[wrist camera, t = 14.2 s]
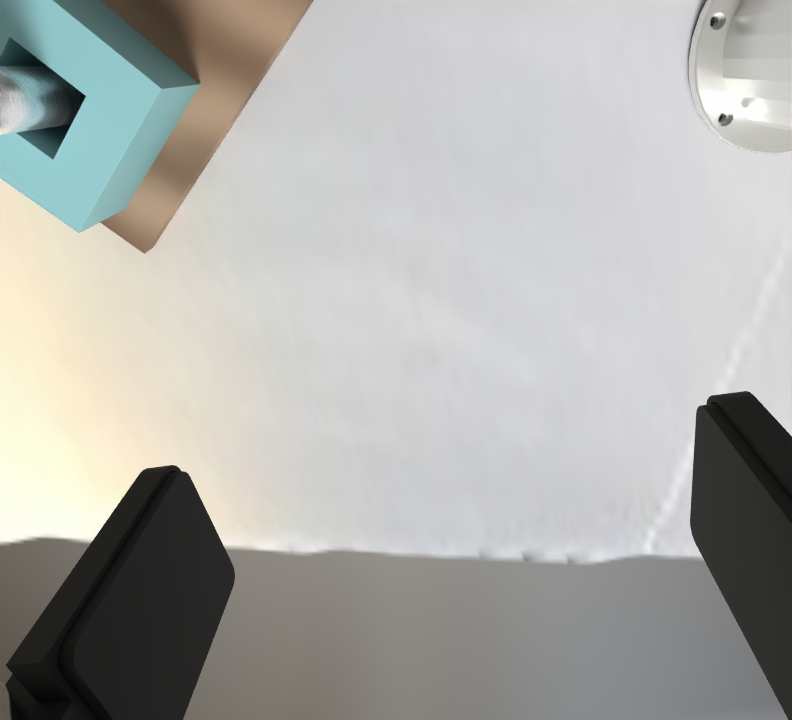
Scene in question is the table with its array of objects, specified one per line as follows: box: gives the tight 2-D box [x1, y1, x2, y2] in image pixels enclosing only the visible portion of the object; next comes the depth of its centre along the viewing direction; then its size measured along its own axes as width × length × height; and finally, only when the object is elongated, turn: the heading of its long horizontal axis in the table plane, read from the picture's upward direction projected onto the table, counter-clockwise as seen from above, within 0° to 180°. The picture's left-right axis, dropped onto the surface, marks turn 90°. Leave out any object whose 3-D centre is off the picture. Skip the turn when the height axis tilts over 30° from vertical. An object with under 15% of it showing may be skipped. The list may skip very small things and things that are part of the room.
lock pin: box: [0, 66, 86, 135], centre depth 28 cm, size 5×5×15 cm
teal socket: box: [0, 0, 201, 233], centre depth 32 cm, size 10×10×6 cm
